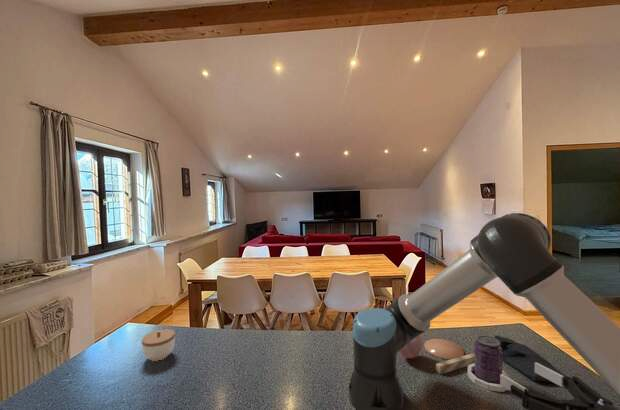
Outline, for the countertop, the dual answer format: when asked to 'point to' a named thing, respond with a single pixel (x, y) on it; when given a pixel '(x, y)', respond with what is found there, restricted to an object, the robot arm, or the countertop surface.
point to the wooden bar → (455, 363)
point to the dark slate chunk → (523, 358)
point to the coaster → (443, 349)
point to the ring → (482, 383)
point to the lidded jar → (158, 344)
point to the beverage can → (488, 359)
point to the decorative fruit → (412, 348)
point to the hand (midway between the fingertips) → (518, 372)
